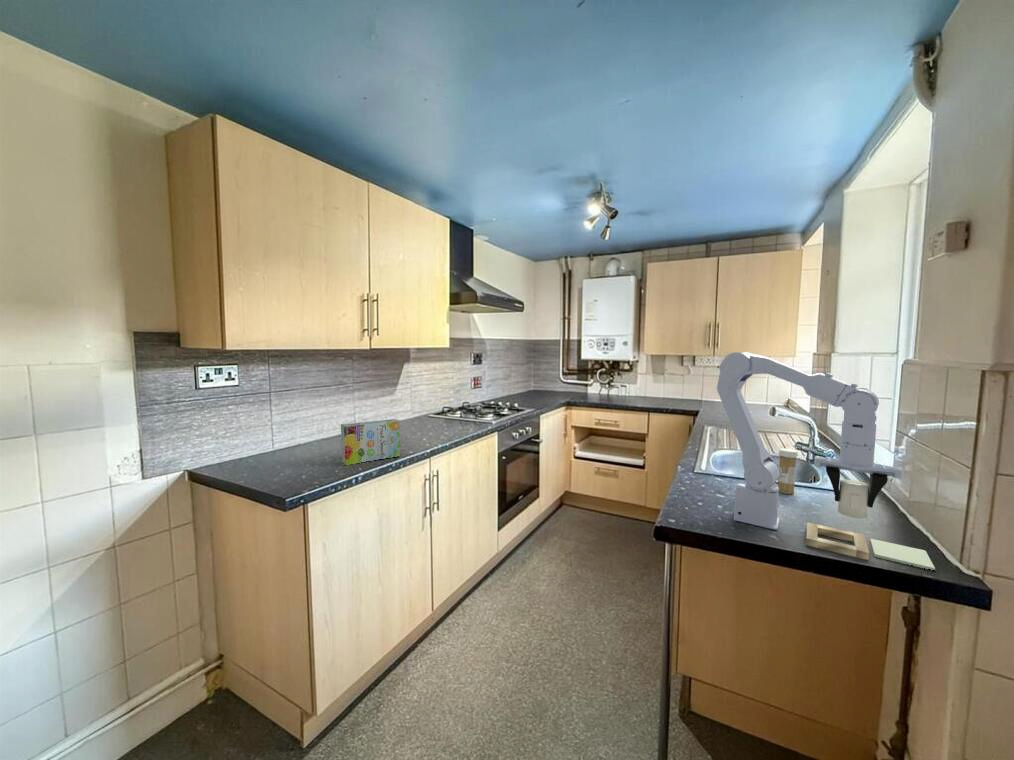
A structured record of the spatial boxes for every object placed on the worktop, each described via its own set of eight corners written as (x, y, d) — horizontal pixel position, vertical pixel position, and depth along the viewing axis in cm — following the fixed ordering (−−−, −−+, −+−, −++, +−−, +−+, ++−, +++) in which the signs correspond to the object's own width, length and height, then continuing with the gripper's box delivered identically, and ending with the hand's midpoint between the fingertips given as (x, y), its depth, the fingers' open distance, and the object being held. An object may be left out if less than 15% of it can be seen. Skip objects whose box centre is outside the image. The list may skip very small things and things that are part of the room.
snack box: (395, 454, 165) (395, 418, 164) (400, 457, 161) (400, 420, 159) (341, 462, 153) (340, 423, 152) (345, 466, 148) (344, 426, 147)
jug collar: (806, 545, 91) (806, 538, 91) (806, 528, 100) (807, 522, 100) (868, 560, 85) (869, 552, 85) (863, 541, 93) (864, 534, 93)
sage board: (874, 556, 86) (874, 554, 86) (870, 540, 94) (870, 538, 94) (934, 571, 81) (935, 568, 81) (925, 553, 88) (925, 550, 88)
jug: (837, 507, 94) (839, 478, 94) (865, 512, 91) (868, 482, 91) (838, 517, 89) (841, 486, 88) (869, 523, 86) (871, 491, 85)
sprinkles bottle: (773, 489, 127) (775, 447, 126) (786, 489, 128) (789, 447, 127) (784, 495, 123) (787, 451, 122) (798, 494, 123) (801, 451, 122)
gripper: (816, 441, 91) (812, 500, 92) (906, 452, 82) (900, 517, 83) (816, 436, 96) (812, 492, 97) (900, 445, 87) (895, 506, 88)
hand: (853, 503), depth 90 cm, fingers closed on jug, 5 cm apart
